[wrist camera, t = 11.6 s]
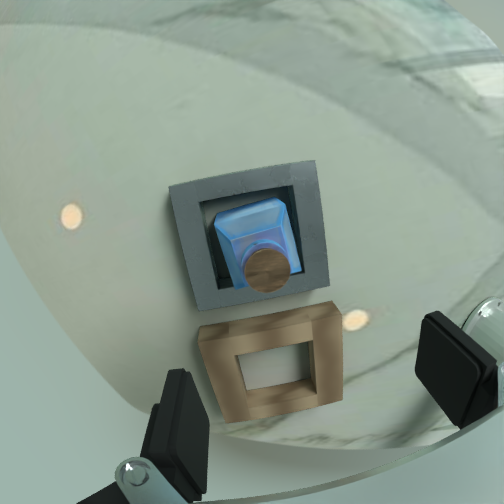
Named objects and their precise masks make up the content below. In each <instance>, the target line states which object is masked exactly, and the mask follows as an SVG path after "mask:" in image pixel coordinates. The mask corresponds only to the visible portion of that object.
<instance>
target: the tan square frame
mask: <svg viewBox="0 0 504 504" xmlns="http://www.w3.org/2000/svg"><path fill="white" fill-rule="evenodd" d="M306 341H308V350H309V361H310V372H311V378H309V379H304V380H300V381H295V382H291V383H286V384H281V385H276V386H271V387H265V388H260V389H254V390H248V391H247V390H246V386H245V383H244V379H243V375H242V371H241V368H240V364H239V360H238V356H237V355H240V354H246V353H252V352H257V351H263V350H268V349H273V348H278V347H283V346H288V345H292V344H297V343H301V342H306ZM198 346H199V349H200V352H201V355H202V358H203V361H204V364H205V367H206V370H207V373H208V376H209V379H210V381H211V384H212V387H213V390H214V393H215V395H216V398H217V401H218V404H219V406H220V409H221V412H222V414H223V417H224V420H225V422H226V423H233V422H241V421H248V420H254V419H260V418H266V417H272V416H277V415H282V414H287V413H292V412H296V411H301V410H305V409H310V408H314V407H318V406H322V405H326V404H330V403H333V402H337V401H341V400H343V341H342V314H341V313H340V311H339V310H338V308H337V307H336V306H335V304H334V303H333V301H329V302H324V303H320V304H315V305H311V306H306V307H302V308H297V309H292V310H287V311H282V312H277V313H272V314H267V315H262V316H257V317H252V318H246V319H241V320H235V321H229V322H224V323H218V324H212V325H205V326H200V330H199V336H198Z"/></svg>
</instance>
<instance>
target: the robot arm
mask: <svg viewBox="0 0 504 504" xmlns="http://www.w3.org/2000/svg"><path fill="white" fill-rule="evenodd" d="M415 374H416V376H417V377H418V379H419V380H420V381H421V382H422V384H423V385H424V386H425V388H426V389H427V390H428V391H429V393H430V394H431V395H432V397H433V398H434V399H435V401H436V402H437V403H438V405H439V406H440V407H441V409H442V410H443V411H444V413H445V414H446V415H447V417H448V418H449V419H450V421H451V422H452V423H453V424H454V425H455V426H458V427H459V428H460V430H459V431H458V432H456V433H454V434H452V435H450V436H448V437H446V438H444V439H443V440H441V441H439V442H437V443H435V444H432V445H430V446H428V447H426V448H424V449H422V450H420V451H417V452H415V453H413V454H411V455H408V456H406V457H403V458H401V459H399V460H396V461H394V462H391V463H388V464H386V465H383V466H380V467H378V468H375V469H372V470H369V471H366V472H363V473H360V474H357V475H353V476H350V477H347V478H343V479H340V480H336V481H332V482H329V483H325V484H321V485H317V486H313V487H308V488H303V489H299V490H293V491H288V492H282V493H276V494H270V495H263V496H256V497H249V498H240V499H230V500H229V499H228V500H218V501H208V502H197V503H193V501H201V500H202V494H205V493H206V490H207V467H208V445H209V426H210V424H209V418H208V416H207V413H206V411H205V408H204V406H203V403H202V401H201V398H200V396H199V393H198V391H197V388H196V386H195V383H194V381H193V378H192V375H191V373H190V372H186V371H185V369H183V368H182V369H173V370H169V371H168V374H167V378H166V382H165V385H164V389H163V393H162V397H161V401H160V403H159V404H154V405H153V408H152V411H151V415H150V419H149V423H148V426H147V430H146V434H145V438H144V441H143V446H142V450H141V454H140V457H132V458H129V459H127V460H125V461H123V462H122V463H120V465H119V466H118V467H117V469H116V471H115V480H116V481H115V482H114V483H112V484H110V485H109V486H107V487H105V488H103V489H102V490H100V491H98V492H97V493H95V494H93V495H91V496H89V497H87V498H86V499H84V500H82V501H80V502H78V503H77V504H504V303H503V301H502V300H500V299H498V298H496V297H492V298H489V299H487V300H485V301H484V302H482V303H481V304H480V305H479V306H478V307H477V308H476V309H475V310H474V311H473V312H472V314H471V315H470V316H469V318H468V319H467V321H466V323H465V324H464V327H463V329H460V328H459V327H458V326H457V325H456V324H454V323H453V322H452V321H451V320H449V319H448V318H447V317H446V316H445V315H443V314H442V313H441V312H440V311H435V312H432V313H429V314H426V315H425V317H424V319H423V320H422V323H421V331H420V339H419V346H418V353H417V359H416V365H415Z"/></svg>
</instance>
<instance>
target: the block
mask: <svg viewBox="0 0 504 504" xmlns="http://www.w3.org/2000/svg"><path fill="white" fill-rule="evenodd" d="M287 185H288V192H289V198H290V205H291V211H292V218H293V225H294V232H295V239H296V246H297V253H298V257H299V262H300V266H301V270H302V271H299V272H295V273H292V274H290V276H289V279H288V281H287V282H286V284H285V285H284V286H283V287H282V288H281V289H279V290H277V291H275V292H270V293H262V292H258V291H256V290H254V289H253V288H252V287H251V286H248V287H244V288H241V289H237V290H235V288H234V285H233V282H232V279H231V277H227V278H221V279H219V278H218V273H217V269H216V265H215V260H214V256H213V251H212V247H211V242H210V237H209V233H208V228H207V223H206V218H205V214H204V209H203V204H202V201H205V200H210V199H215V198H220V197H225V196H231V195H236V194H241V193H247V192H252V191H258V190H264V189H269V188H275V187H281V186H287ZM169 192H170V197H171V201H172V206H173V210H174V215H175V219H176V224H177V228H178V233H179V237H180V241H181V245H182V249H183V253H184V257H185V261H186V265H187V269H188V273H189V277H190V281H191V285H192V289H193V292H194V296H195V300H196V303H197V307H198V310H199V311H203V310H209V309H214V308H220V307H226V306H231V305H237V304H242V303H248V302H253V301H258V300H264V299H269V298H274V297H279V296H284V295H289V294H294V293H299V292H303V291H308V290H313V289H317V288H322V287H327V286H330V282H329V270H328V259H327V249H326V240H325V231H324V222H323V214H322V206H321V198H320V191H319V184H318V177H317V170H316V163H315V160H311V161H301V162H294V163H287V164H281V165H274V166H268V167H262V168H256V169H250V170H244V171H239V172H233V173H228V174H223V175H218V176H213V177H208V178H203V179H198V180H193V181H189V182H184V183H180V184H175V185H172V186H169Z"/></svg>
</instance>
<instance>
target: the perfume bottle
mask: <svg viewBox="0 0 504 504" xmlns="http://www.w3.org/2000/svg"><path fill="white" fill-rule="evenodd" d="M214 226H215V229H216V232H217V236H218V239H219V242H220V245H221V248H222V251H223V254H224V257H225V260H226V263H227V266H228V270H229V273H230V276H231V279H232V282H233V285H234V288H235V290H237V289H241V288H244V287H248V286H251V287H252V288H253V289H254V290H256V291H258V292H262V293H270V292H275V291H277V290H279V289H281V288H282V287H283V286H284V285H285V284H286V282H287V281H288V279H289V276H290V274H292V273H295V272H299V271H302V270H301V266H300V262H299V257H298V253H297V249H296V245H295V241H294V237H293V233H292V229H291V225H290V221H289V217H288V213H287V209H286V206H285V204H284V203H283V202H281V201H280V200H279V199H277V198H276V197H271V198H268V199H264V200H261V201H257V202H254V203H250V204H247V205H243V206H240V207H236V208H233V209H230V210H226V211H223V212H220V213H217V216H216V219H215V223H214Z"/></svg>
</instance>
